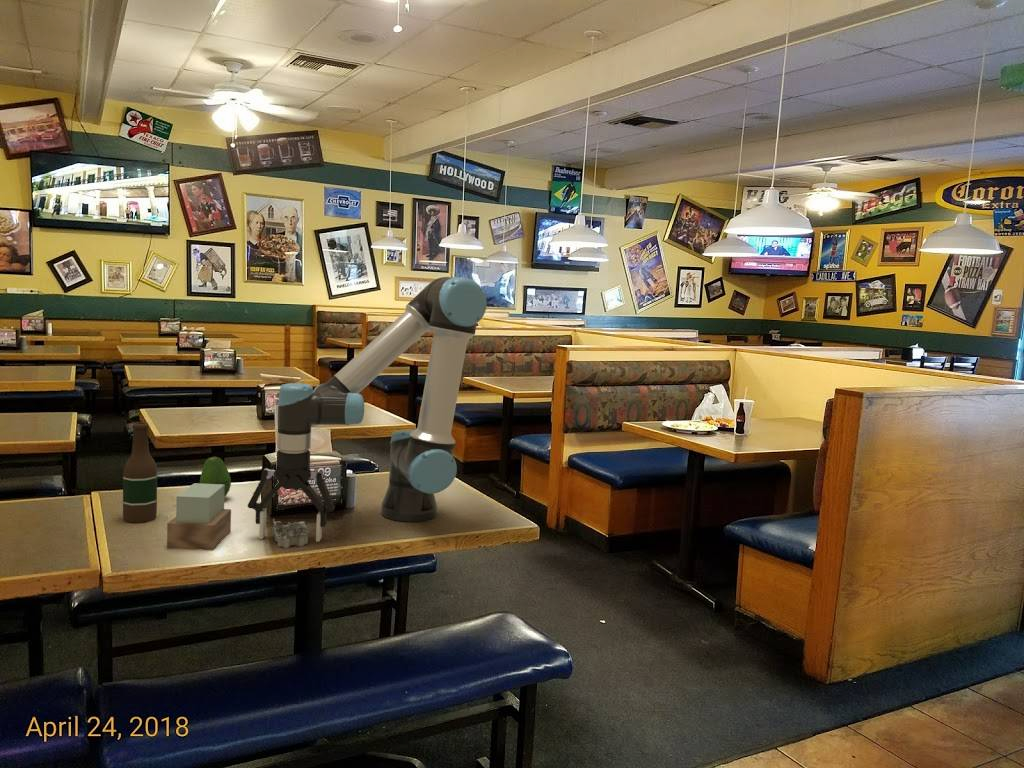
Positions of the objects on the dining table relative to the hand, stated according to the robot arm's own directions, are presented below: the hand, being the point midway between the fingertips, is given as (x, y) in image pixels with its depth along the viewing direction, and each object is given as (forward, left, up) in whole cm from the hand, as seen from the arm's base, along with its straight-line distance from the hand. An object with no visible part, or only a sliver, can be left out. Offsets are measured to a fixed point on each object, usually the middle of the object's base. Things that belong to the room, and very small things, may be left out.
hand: (290, 538), depth 170 cm
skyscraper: (+10, -36, 0) cm, 37 cm away
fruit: (+27, -28, 0) cm, 39 cm away
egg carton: (0, 0, -1) cm, 1 cm away
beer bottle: (+39, -10, 0) cm, 40 cm away
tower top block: (+20, +3, +6) cm, 21 cm away
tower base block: (+20, +3, 0) cm, 20 cm away
